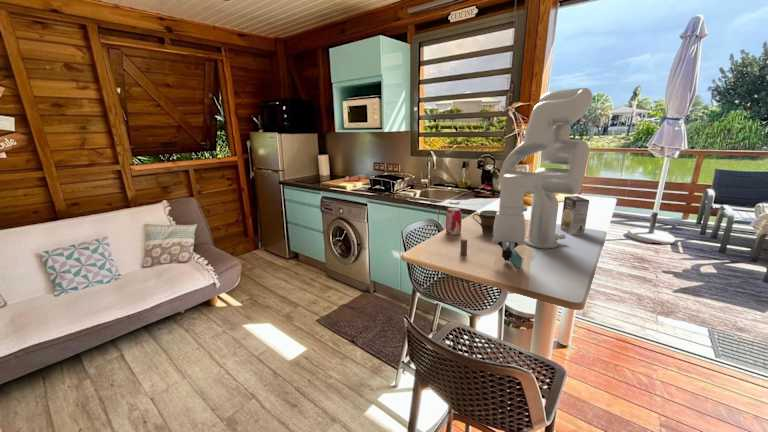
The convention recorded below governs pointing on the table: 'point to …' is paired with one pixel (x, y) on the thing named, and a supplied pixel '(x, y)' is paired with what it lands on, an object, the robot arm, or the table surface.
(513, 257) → the bar
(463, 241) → the gate posts
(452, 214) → the soda can
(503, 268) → the table surface
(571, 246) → the table surface
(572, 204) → the coffee box
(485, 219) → the ceramic cup
